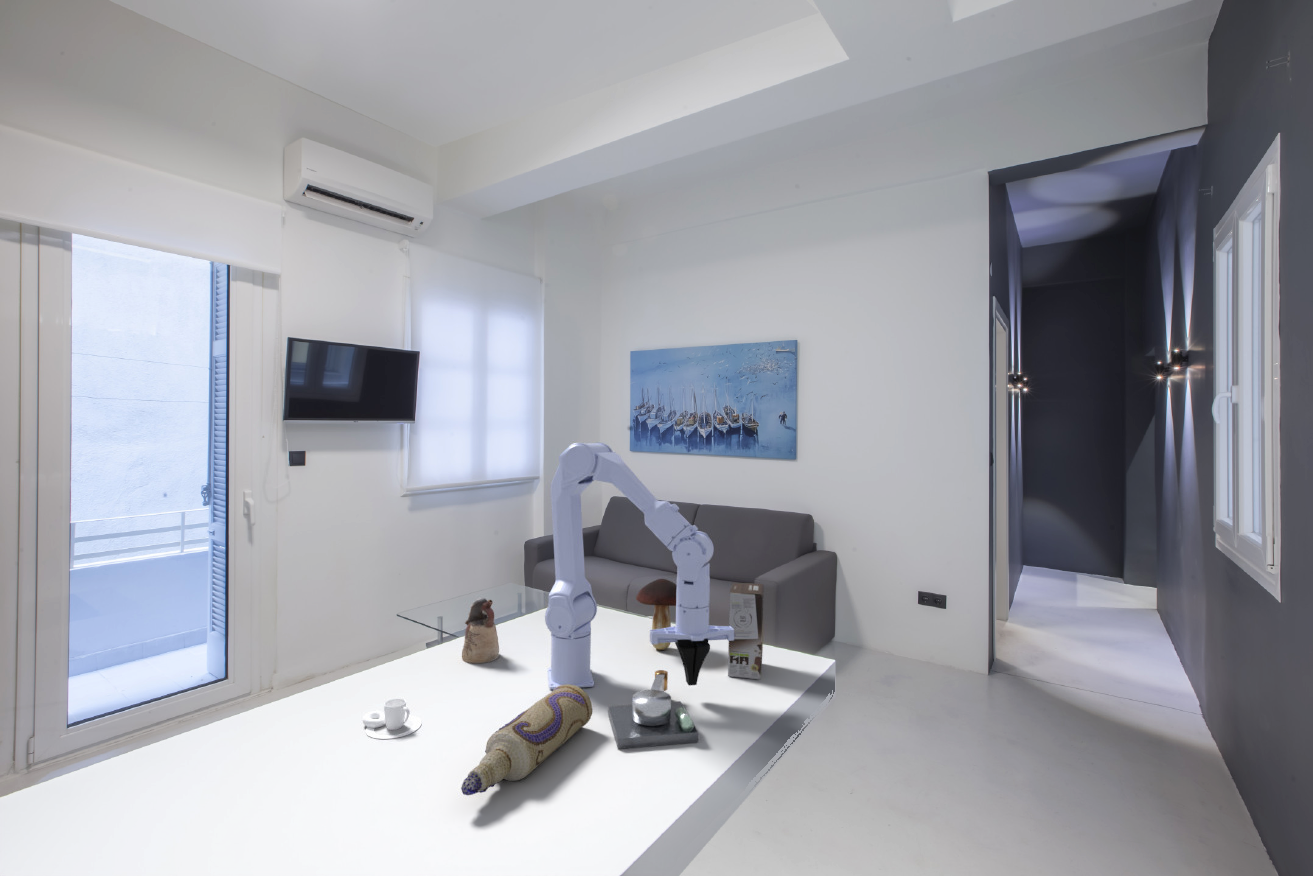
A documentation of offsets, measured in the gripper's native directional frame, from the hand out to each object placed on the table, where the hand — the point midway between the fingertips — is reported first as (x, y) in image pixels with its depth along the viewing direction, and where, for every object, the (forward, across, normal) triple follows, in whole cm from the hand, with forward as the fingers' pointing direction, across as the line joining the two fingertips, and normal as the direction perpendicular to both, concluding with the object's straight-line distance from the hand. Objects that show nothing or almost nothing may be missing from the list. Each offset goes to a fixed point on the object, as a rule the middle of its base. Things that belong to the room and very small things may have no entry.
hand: (691, 683), depth 108 cm
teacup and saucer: (+4, -48, +1) cm, 48 cm away
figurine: (+3, -37, +27) cm, 46 cm away
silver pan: (+1, -7, -5) cm, 9 cm away
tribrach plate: (+3, -9, -9) cm, 13 cm away
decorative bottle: (+3, -28, -15) cm, 32 cm away
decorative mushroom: (+3, 0, +26) cm, 26 cm away
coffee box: (+3, +14, +12) cm, 19 cm away
